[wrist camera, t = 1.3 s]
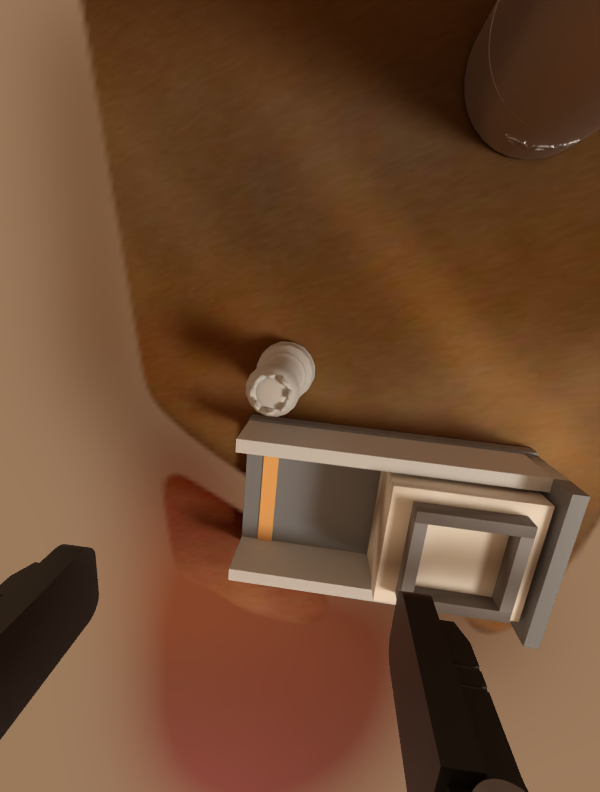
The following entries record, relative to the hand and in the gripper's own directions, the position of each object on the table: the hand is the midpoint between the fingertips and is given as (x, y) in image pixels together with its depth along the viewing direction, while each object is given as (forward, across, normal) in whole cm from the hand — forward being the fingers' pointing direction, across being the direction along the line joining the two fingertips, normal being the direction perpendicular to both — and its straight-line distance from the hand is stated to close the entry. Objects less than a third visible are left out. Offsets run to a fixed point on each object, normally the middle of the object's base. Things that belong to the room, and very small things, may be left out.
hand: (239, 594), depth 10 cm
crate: (+19, -12, +8) cm, 24 cm away
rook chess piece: (+21, +2, -2) cm, 21 cm away
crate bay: (+20, -7, +8) cm, 23 cm away
